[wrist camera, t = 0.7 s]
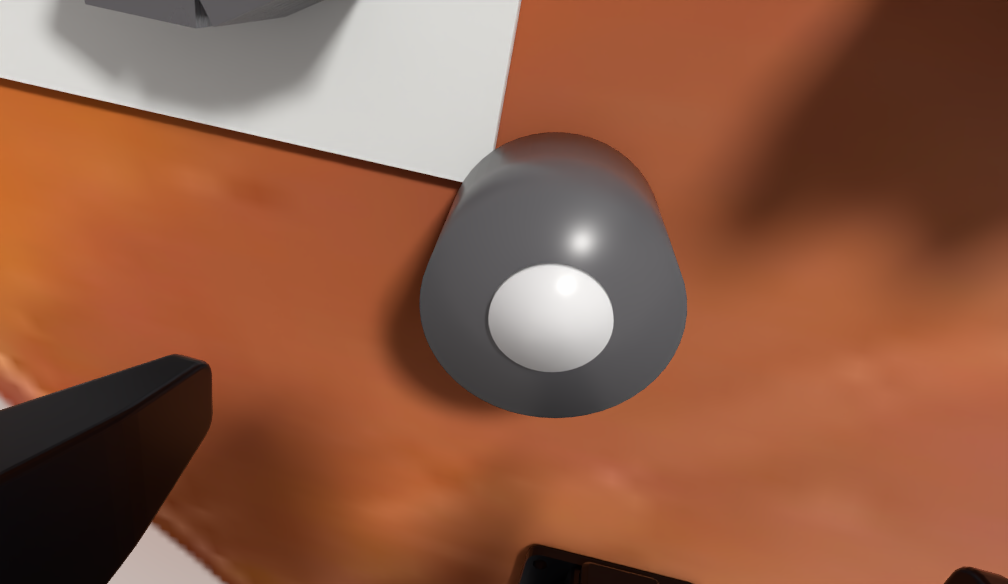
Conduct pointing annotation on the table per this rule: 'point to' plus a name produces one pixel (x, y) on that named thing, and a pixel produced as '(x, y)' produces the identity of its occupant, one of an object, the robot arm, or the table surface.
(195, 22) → the curved wall segments
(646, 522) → the table surface
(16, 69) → the mat
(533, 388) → the grey cylinder white dome
